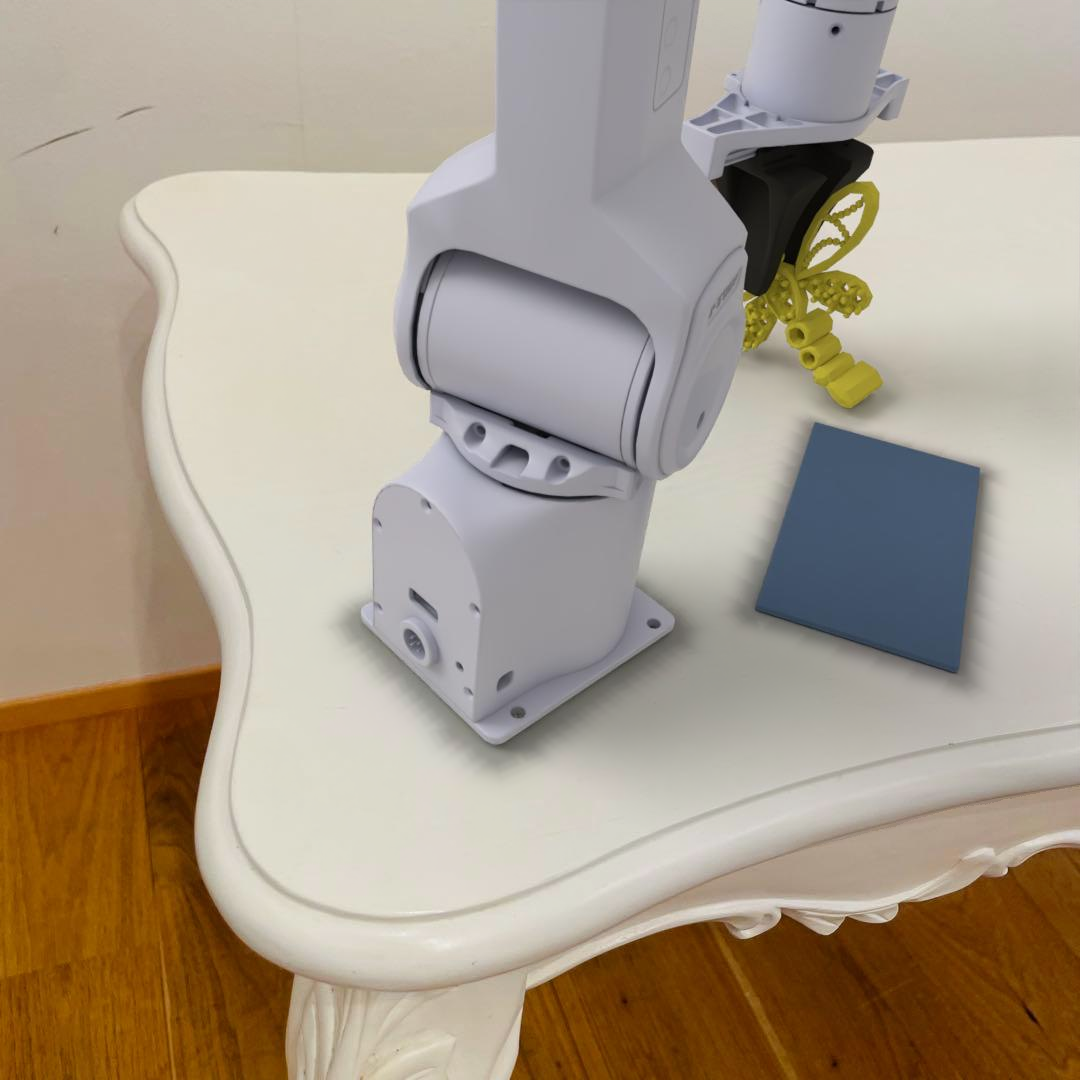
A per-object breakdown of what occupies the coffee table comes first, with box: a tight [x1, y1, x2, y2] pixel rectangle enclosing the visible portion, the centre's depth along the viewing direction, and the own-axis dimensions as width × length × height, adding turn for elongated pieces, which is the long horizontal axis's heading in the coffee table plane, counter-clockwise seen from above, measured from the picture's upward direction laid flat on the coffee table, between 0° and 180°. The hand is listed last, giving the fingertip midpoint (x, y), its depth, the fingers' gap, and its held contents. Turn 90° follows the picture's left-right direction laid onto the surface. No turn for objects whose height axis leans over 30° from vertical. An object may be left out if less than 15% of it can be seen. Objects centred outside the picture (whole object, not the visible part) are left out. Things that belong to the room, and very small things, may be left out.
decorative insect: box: [742, 180, 884, 409], centre depth 56 cm, size 13×3×10 cm
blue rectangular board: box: [754, 421, 981, 674], centre depth 48 cm, size 14×8×1 cm, turn 160°
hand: (758, 281), depth 56 cm, fingers closed on decorative insect
